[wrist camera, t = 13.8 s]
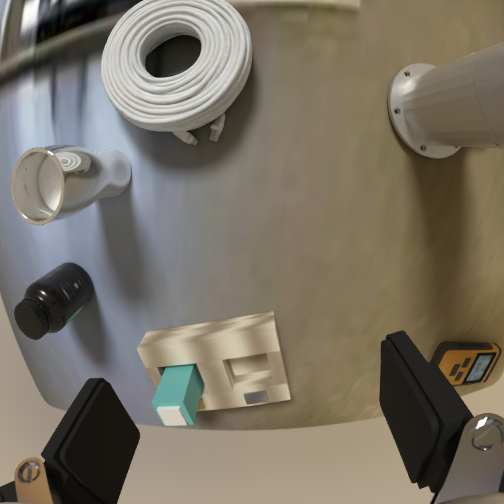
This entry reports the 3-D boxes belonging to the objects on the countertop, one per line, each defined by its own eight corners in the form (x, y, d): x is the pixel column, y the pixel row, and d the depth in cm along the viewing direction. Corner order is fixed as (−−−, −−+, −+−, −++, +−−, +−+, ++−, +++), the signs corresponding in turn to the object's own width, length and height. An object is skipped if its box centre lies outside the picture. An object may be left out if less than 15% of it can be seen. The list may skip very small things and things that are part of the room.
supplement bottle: (100, 301, 40) (58, 346, 28) (67, 307, 40) (24, 348, 29) (84, 256, 38) (33, 291, 27) (50, 266, 39) (0, 299, 27)
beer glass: (132, 202, 36) (65, 232, 21) (86, 198, 36) (10, 223, 21) (137, 146, 34) (68, 144, 19) (89, 144, 34) (11, 146, 19)
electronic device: (438, 338, 42) (447, 349, 39) (495, 340, 42) (504, 348, 39) (418, 379, 44) (426, 391, 41) (476, 376, 45) (484, 386, 41)
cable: (215, 155, 34) (206, 154, 29) (93, 110, 32) (68, 105, 27) (276, 29, 30) (279, 8, 24) (151, -5, 28) (136, -25, 22)
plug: (197, 352, 41) (182, 405, 31) (205, 374, 42) (193, 428, 32) (170, 355, 41) (150, 406, 31) (179, 376, 42) (162, 428, 32)
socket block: (273, 310, 40) (275, 330, 35) (288, 379, 43) (290, 400, 38) (147, 331, 41) (136, 350, 36) (174, 393, 44) (168, 413, 40)
